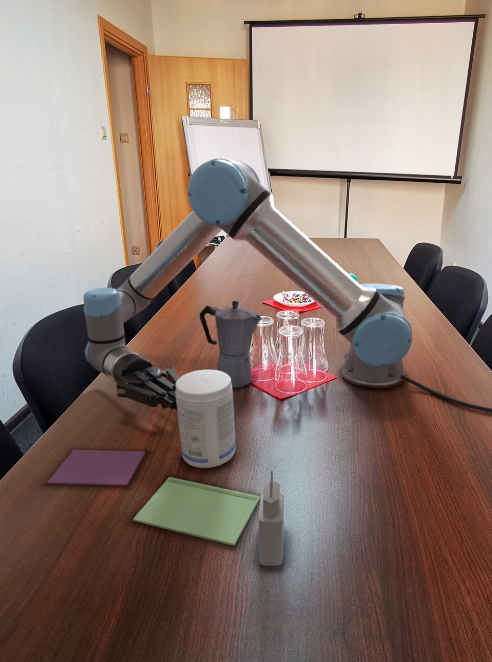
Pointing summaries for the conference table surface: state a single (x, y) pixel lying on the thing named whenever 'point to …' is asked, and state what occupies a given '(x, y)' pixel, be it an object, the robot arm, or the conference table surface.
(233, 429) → the supplement tub
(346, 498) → the conference table surface
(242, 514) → the sage cloth
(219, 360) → the moka pot
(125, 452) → the plum cloth
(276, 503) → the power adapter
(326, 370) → the conference table surface
